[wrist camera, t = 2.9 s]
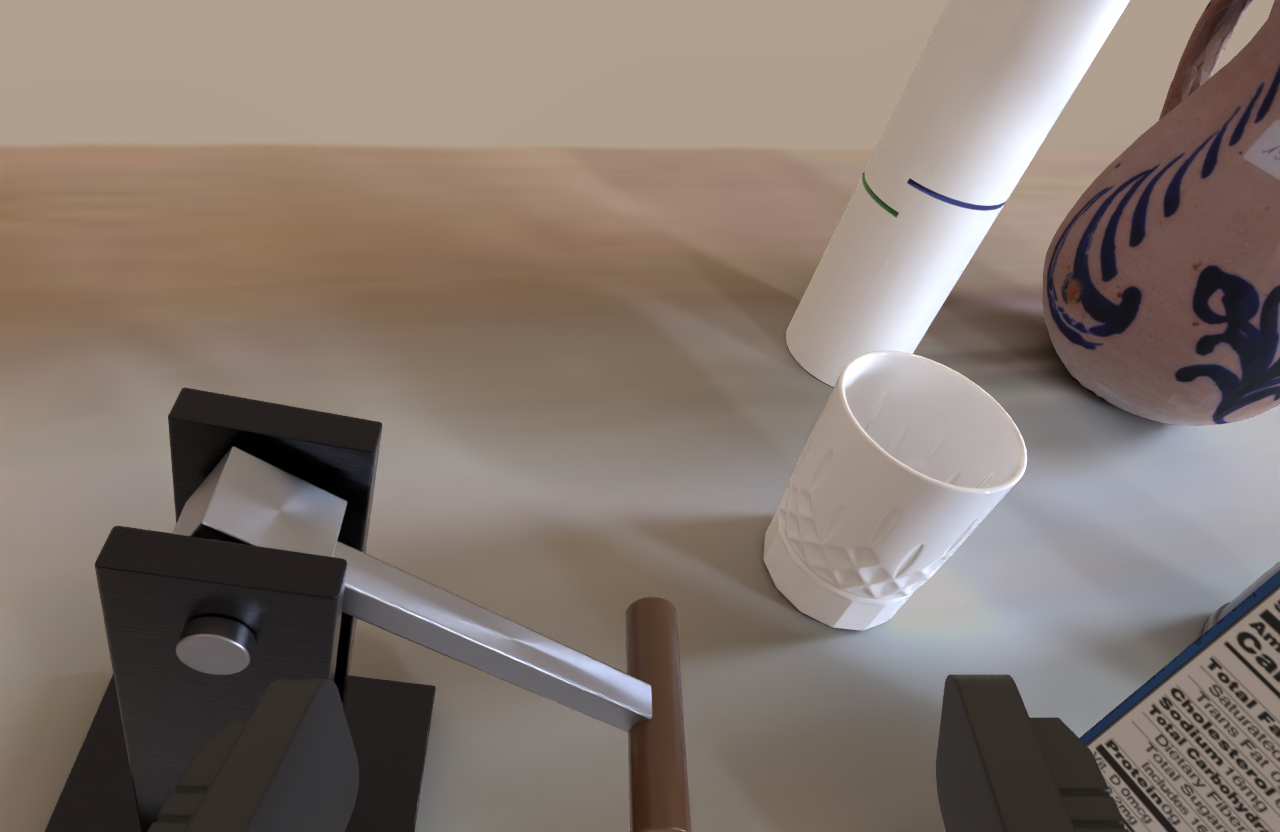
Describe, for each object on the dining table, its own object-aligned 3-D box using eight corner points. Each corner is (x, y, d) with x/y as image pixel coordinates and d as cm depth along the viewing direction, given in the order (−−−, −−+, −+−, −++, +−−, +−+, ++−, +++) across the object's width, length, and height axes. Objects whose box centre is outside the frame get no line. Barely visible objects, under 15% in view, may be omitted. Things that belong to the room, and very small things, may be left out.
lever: (643, 637, 30) (696, 603, 29) (652, 865, 25) (716, 834, 23) (217, 429, 23) (263, 372, 22) (107, 680, 18) (158, 624, 17)
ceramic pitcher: (1099, 474, 55) (1458, 66, 39) (928, 260, 69) (1139, -106, 52) (1295, 468, 62) (1671, 119, 45) (1103, 274, 75) (1338, -46, 59)
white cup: (916, 665, 40) (1044, 517, 34) (744, 614, 40) (841, 453, 33) (903, 532, 46) (1010, 384, 40) (753, 485, 46) (837, 327, 39)
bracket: (431, 703, 33) (507, 400, 23) (394, 952, 27) (475, 685, 18) (127, 667, 31) (73, 319, 21) (15, 928, 25) (-127, 611, 16)
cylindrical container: (874, 412, 53) (1152, -41, 37) (767, 349, 55) (987, -113, 38) (910, 358, 58) (1168, -60, 42) (811, 301, 60) (1022, -123, 44)
